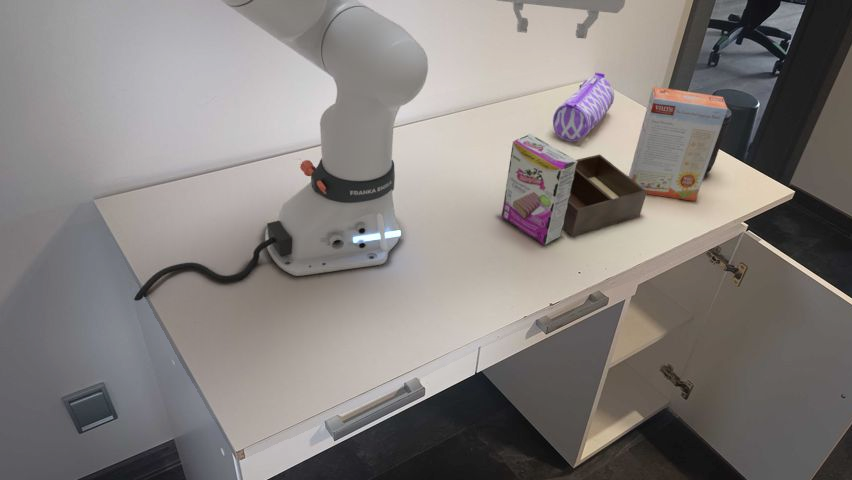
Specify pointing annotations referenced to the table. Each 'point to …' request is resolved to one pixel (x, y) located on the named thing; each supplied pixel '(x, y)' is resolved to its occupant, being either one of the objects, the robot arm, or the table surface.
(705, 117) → the cracker box
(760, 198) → the table surface
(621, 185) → the divided storage box
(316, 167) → the robot arm
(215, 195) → the table surface
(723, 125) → the camera lens
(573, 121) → the pencil case
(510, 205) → the candy bar box
